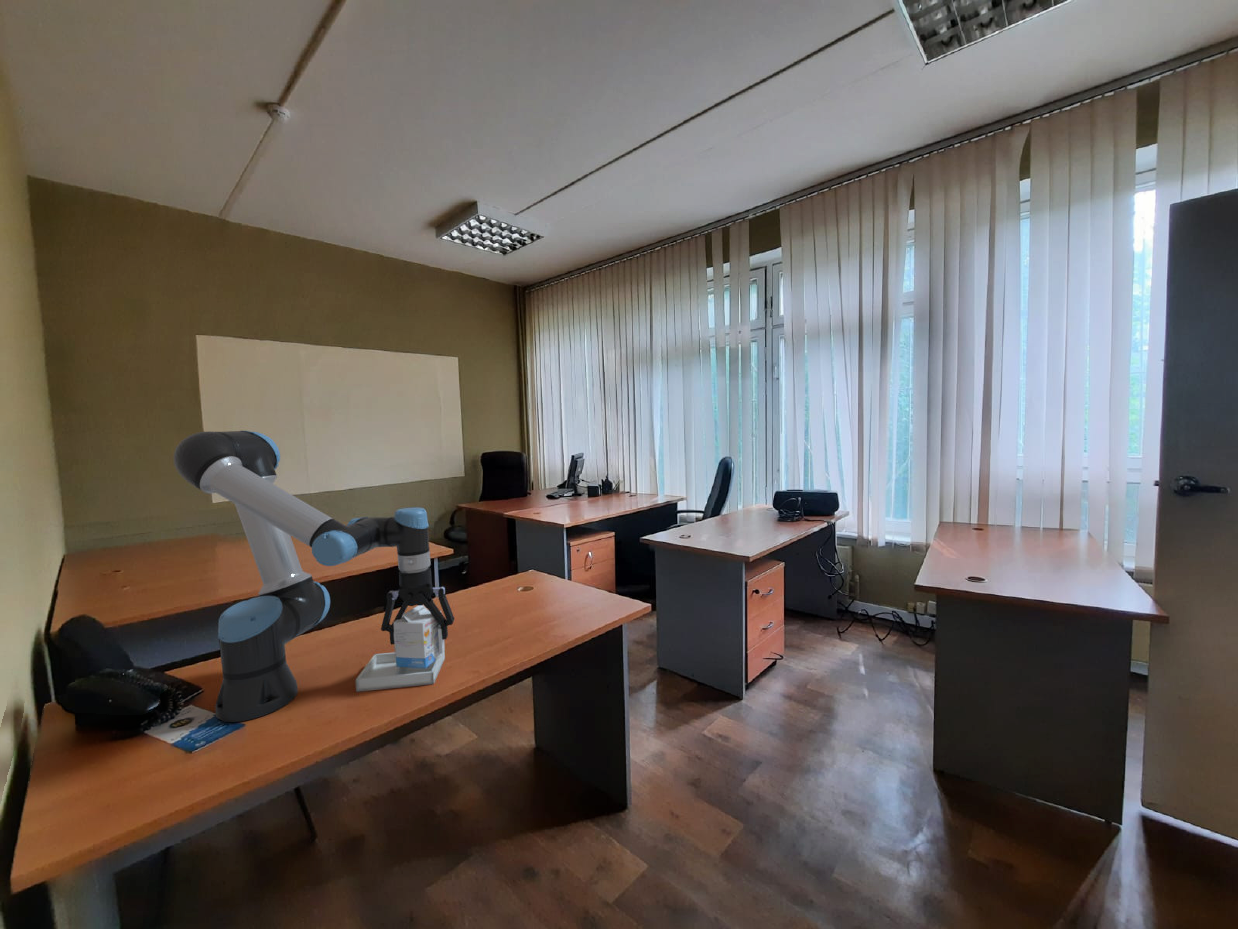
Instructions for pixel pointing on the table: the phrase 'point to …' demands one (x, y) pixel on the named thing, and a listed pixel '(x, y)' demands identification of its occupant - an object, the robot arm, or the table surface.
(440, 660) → the caddy
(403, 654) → the ink box
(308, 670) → the table surface
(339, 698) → the table surface
